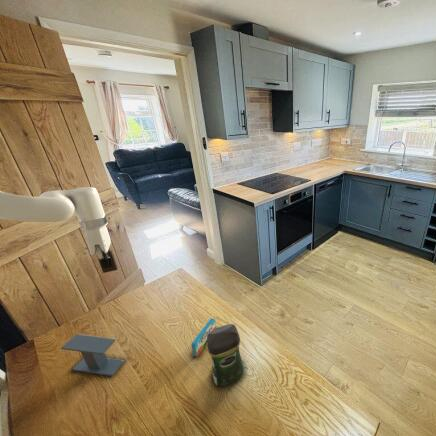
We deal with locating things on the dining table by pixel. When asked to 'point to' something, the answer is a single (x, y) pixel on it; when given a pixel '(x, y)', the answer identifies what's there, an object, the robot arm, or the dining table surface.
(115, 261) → the domino
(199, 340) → the turquoise printed box
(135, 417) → the dining table surface
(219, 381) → the coffee jar
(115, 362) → the pedestal
